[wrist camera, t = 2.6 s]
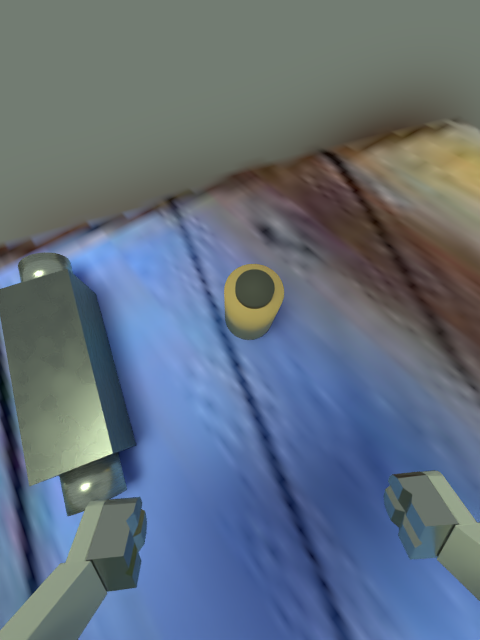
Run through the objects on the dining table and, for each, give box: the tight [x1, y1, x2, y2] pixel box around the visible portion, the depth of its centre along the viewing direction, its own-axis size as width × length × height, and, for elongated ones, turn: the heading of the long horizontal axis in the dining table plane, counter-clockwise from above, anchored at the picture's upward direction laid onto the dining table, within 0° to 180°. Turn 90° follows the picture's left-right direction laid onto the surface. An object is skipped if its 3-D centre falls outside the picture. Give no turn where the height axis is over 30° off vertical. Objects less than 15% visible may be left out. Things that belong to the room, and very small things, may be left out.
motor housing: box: [0, 253, 136, 516], centre depth 27 cm, size 22×6×6 cm, turn 21°
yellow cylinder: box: [224, 264, 284, 340], centre depth 29 cm, size 5×5×8 cm
